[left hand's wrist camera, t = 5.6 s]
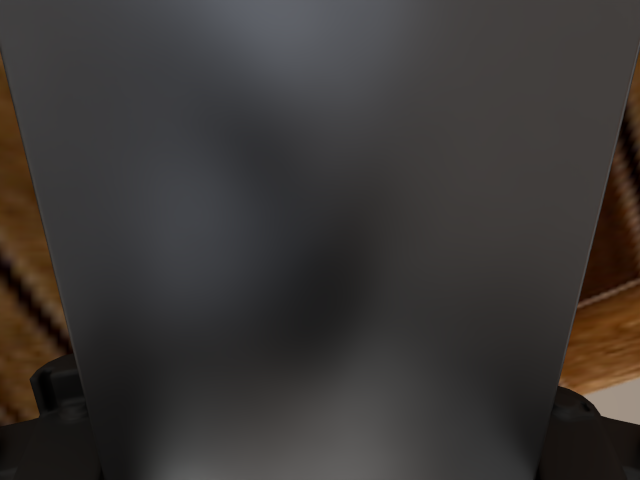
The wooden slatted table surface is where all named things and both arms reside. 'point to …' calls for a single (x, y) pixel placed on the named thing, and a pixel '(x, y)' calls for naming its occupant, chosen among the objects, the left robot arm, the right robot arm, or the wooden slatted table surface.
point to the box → (319, 223)
